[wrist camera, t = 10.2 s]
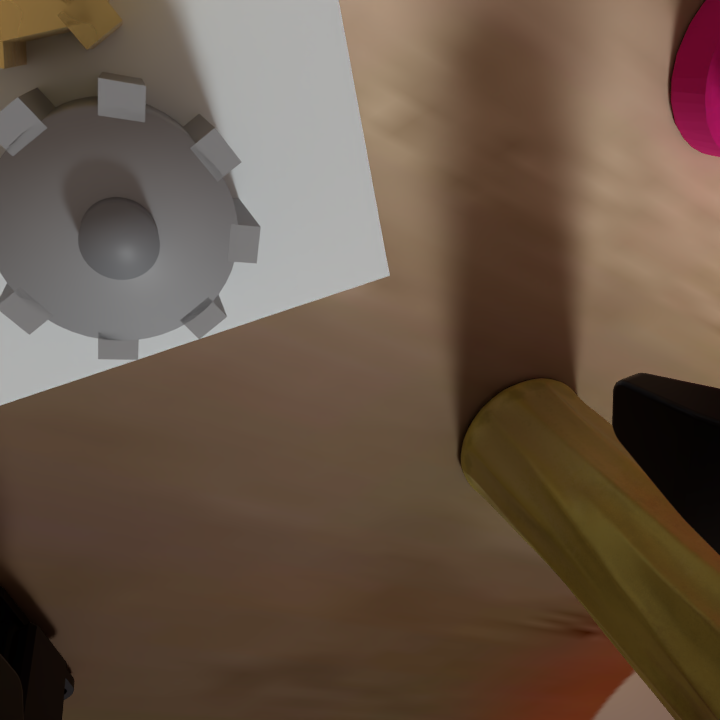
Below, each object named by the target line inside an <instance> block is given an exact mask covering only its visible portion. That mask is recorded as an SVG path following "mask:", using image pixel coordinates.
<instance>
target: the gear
mask: <svg viewBox="0 0 720 720" xmlns="http://www.w3.org/2000/svg"><path fill="white" fill-rule="evenodd" d="M109 1H110V0H0V68H3V69H6V68H11V67H16V66H20V65H25V64H27V57H26V42H27V41H31V40H36V39H40V38H45V37H49V36H54V35H58V34H63V33H67V32H72V33H73V34H74V35H75V37H76V38H77V39H78V40H79V41H80V43H81V44H82V45H83V46H84V47H85V49H86V50H89V49H94V48H95V47H96V46H97V45H99V44H100V43H101V42H102V41H103V40H105V39H106V38H107V37H108V36H109V35H111V34H112V33H113V32H114V31H115V30H117V29H118V28H119V27H120V26H122V19H121V18H120V16H119V15H118V14H117V13H116V11H115V10H114V9H113V8H112V6H111V5H110V4H109Z"/></svg>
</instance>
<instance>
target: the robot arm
mask: <svg viewBox="0 0 720 720" xmlns="http://www.w3.org/2000/svg"><path fill="white" fill-rule="evenodd" d="M612 426H613V430H614V433H615V435H616V437H617V439H618V440H619V442H620V443H621V444H622V445H623V447H624V448H625V449H626V450H627V451H628V453H629V454H630V455H631V456H632V458H633V459H634V460H635V461H636V462H637V464H638V465H639V466H640V467H641V469H642V470H643V471H644V472H645V473H646V475H647V476H648V477H649V478H650V480H651V481H652V482H653V483H654V484H655V486H656V487H657V488H658V489H659V490H660V492H661V493H662V494H663V495H664V497H665V498H666V499H667V500H668V501H669V503H670V504H671V505H672V506H673V507H674V509H675V510H676V511H677V512H678V513H679V514H680V515H681V517H682V518H683V519H684V520H685V521H686V522H687V523H688V524H689V525H690V526H691V527H692V528H693V529H694V530H695V531H696V532H697V533H698V534H699V535H700V536H701V537H702V538H703V539H704V540H705V541H706V542H707V543H708V544H709V545H710V546H711V547H712V548H713V549H714V550H715V551H716V552H717V553H718V554H719V555H720V389H719V388H714V387H709V386H704V385H700V384H695V383H690V382H685V381H680V380H676V379H671V378H666V377H661V376H656V375H652V374H647V373H638V374H634V375H632V376H629V377H627V378H624V379H622V380H620V381H618V382H617V383H616V384H615V386H614V389H613V416H612ZM66 668H67V663H66V661H65V660H64V659H63V657H62V656H61V655H60V653H59V652H58V651H57V650H56V648H55V647H54V646H53V644H52V643H51V642H50V640H49V639H48V638H47V637H46V635H45V634H44V633H43V631H42V630H41V629H40V627H39V626H38V625H36V624H34V623H32V622H31V623H30V621H29V620H28V619H27V617H26V616H25V615H24V614H23V612H22V611H21V610H20V608H19V607H18V606H17V605H16V603H15V602H14V601H13V599H12V598H11V597H10V595H9V594H8V593H7V592H6V590H5V589H4V588H2V587H1V586H0V720H62V713H63V701H64V699H66V698H68V697H70V696H71V695H72V693H73V691H74V678H73V677H72V675H71V674H70V673H69V672H68V670H67V669H66Z"/></svg>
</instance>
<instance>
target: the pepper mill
mask: <svg viewBox="0 0 720 720" xmlns="http://www.w3.org/2000/svg"><path fill="white" fill-rule="evenodd" d="M671 105H672V110H673V115H674V120H675V124H676V126H677V127H678V129H679V131H680V133H681V135H682V137H683V138H684V139H685V140H686V141H687V142H688V143H689V145H690V146H691V147H693V148H694V149H696V150H698V151H699V152H701V153H704V154H708V155H712V156H718V157H720V0H706V1H705V2H704V3H703V4H702V6H701V7H700V9H699V10H698V12H697V13H696V15H695V16H694V18H693V20H692V21H691V23H690V24H689V27H688V29H687V31H686V33H685V36H684V38H683V40H682V43H681V45H680V47H679V50H678V52H677V56H676V60H675V65H674V69H673V74H672V79H671Z"/></svg>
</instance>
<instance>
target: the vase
mask: <svg viewBox="0 0 720 720" xmlns="http://www.w3.org/2000/svg"><path fill="white" fill-rule="evenodd" d="M461 467H462V470H463V473H464V475H465V477H466V479H467V481H468V483H469V484H470V485H471V487H472V488H474V489H475V490H476V491H477V492H478V493H479V494H480V495H481V496H482V497H483V498H484V499H485V500H486V501H487V502H488V503H489V504H490V505H491V506H492V507H493V508H494V509H495V510H496V511H497V512H498V513H499V514H500V515H501V516H502V517H503V518H504V519H505V520H506V521H507V522H508V523H509V524H510V525H511V527H512V528H513V529H514V530H515V531H516V532H517V533H518V534H519V535H520V536H521V537H522V538H523V539H524V540H525V541H526V542H527V543H528V544H529V545H530V546H531V547H532V548H533V549H534V550H535V551H536V552H537V553H538V554H539V555H540V557H541V558H542V559H543V560H544V561H545V562H546V563H547V564H548V565H549V566H550V567H551V568H552V569H553V570H554V571H555V573H556V574H557V575H558V576H559V577H560V578H561V579H562V581H563V582H564V583H565V584H566V585H567V586H568V588H569V589H570V590H571V592H572V593H573V594H574V595H575V597H576V598H577V599H578V600H579V601H580V603H581V604H582V605H583V606H584V608H585V609H586V610H587V612H588V613H589V614H590V615H591V617H592V618H593V619H594V621H595V622H596V623H597V625H598V626H599V627H600V628H601V630H602V631H603V632H604V633H605V635H606V636H607V637H608V638H609V640H610V641H611V642H612V643H613V644H614V646H615V647H616V648H617V649H618V651H619V652H620V653H621V654H622V656H623V657H624V658H625V659H626V660H627V662H628V663H629V664H630V665H631V667H632V668H633V669H634V670H635V671H636V673H637V674H638V675H639V676H640V677H641V679H642V680H643V681H644V682H645V683H646V684H647V686H648V687H649V688H650V689H651V691H652V692H653V693H654V694H655V695H656V697H657V698H658V699H659V700H660V702H661V703H662V704H663V705H664V707H666V709H667V710H668V712H669V713H670V714H671V715H672V717H673V718H674V719H675V720H720V555H719V554H718V553H717V552H716V551H715V550H714V549H713V548H712V547H711V546H710V545H709V544H708V543H707V542H706V541H705V540H704V539H703V538H702V537H701V536H700V535H699V534H698V533H697V532H696V531H695V530H694V529H693V528H692V527H691V526H690V525H689V524H688V523H687V522H686V521H685V520H684V519H683V518H682V517H681V515H680V514H679V513H678V512H677V511H676V510H675V509H674V507H673V506H672V505H671V504H670V503H669V501H668V500H667V499H666V498H665V497H664V495H663V494H662V493H661V492H660V490H659V489H658V488H657V487H656V486H655V484H654V483H653V482H652V481H651V480H650V478H649V477H648V476H647V475H646V473H645V472H644V471H643V470H642V469H641V467H640V466H639V465H638V464H637V462H636V461H635V460H634V459H633V458H632V456H631V455H630V454H629V453H628V451H627V450H626V449H625V448H624V447H623V445H622V444H621V443H620V442H619V440H618V439H617V437H616V435H615V433H614V430H613V426H612V425H611V424H610V423H609V422H607V421H606V420H605V419H604V418H603V417H601V416H600V415H599V414H598V413H596V412H595V411H594V410H592V409H591V408H590V407H589V406H587V405H586V404H585V403H584V402H583V401H582V400H581V399H580V398H579V397H578V396H577V395H576V393H575V392H574V391H573V390H572V389H571V388H570V387H569V386H567V385H566V384H564V383H562V382H560V381H556V380H552V379H544V378H539V379H532V380H528V381H524V382H521V383H518V384H516V385H513V386H511V387H509V388H507V389H505V390H503V391H502V392H500V393H499V394H497V395H496V396H495V397H494V398H492V399H491V400H490V401H489V402H488V403H487V404H486V405H485V406H483V407H482V409H481V410H480V411H479V412H478V414H477V415H476V416H475V418H474V419H473V421H472V422H471V424H470V426H469V428H468V430H467V432H466V435H465V437H464V441H463V445H462V451H461Z"/></svg>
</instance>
